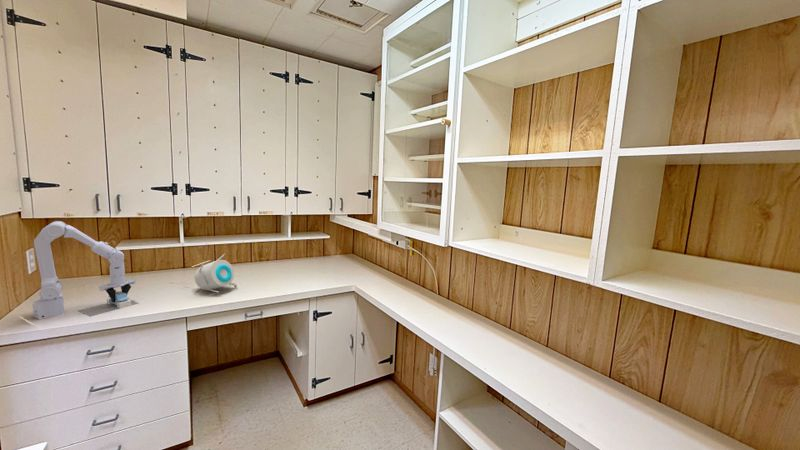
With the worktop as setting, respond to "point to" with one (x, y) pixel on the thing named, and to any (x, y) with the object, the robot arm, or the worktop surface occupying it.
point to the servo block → (119, 297)
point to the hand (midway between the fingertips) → (118, 300)
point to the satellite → (214, 275)
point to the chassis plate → (107, 307)
